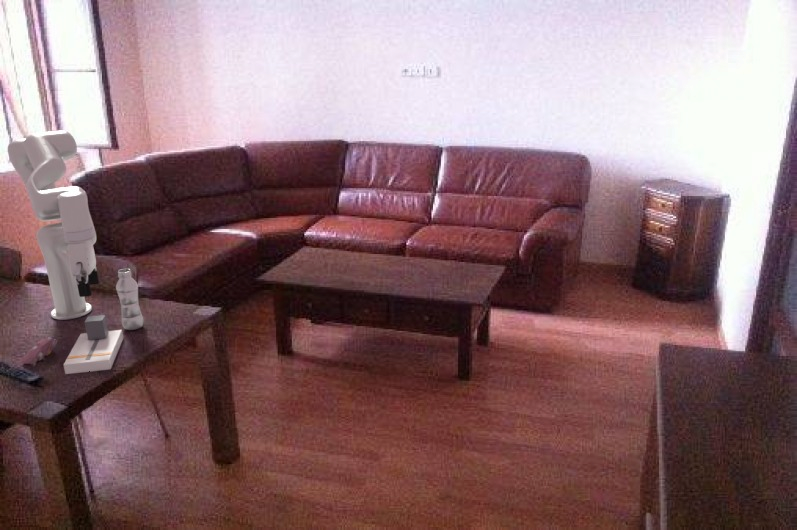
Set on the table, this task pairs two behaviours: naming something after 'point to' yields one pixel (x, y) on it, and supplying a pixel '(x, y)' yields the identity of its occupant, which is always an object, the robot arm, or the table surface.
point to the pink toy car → (40, 350)
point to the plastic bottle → (129, 300)
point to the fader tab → (96, 327)
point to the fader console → (93, 353)
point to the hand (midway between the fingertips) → (89, 290)
